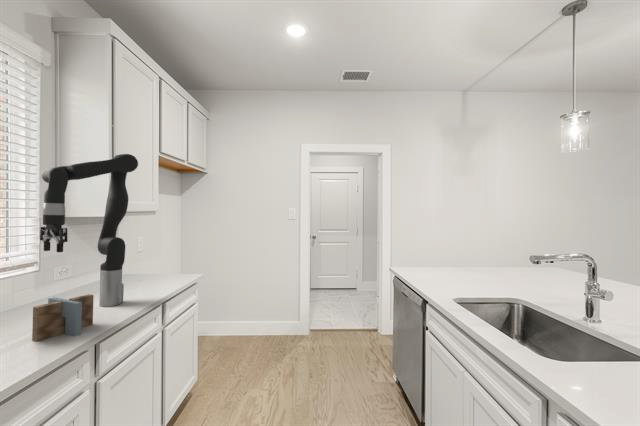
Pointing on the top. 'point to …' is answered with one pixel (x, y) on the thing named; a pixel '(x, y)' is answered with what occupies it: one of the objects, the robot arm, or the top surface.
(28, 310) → the top surface
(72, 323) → the slate plate
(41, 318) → the walnut board
